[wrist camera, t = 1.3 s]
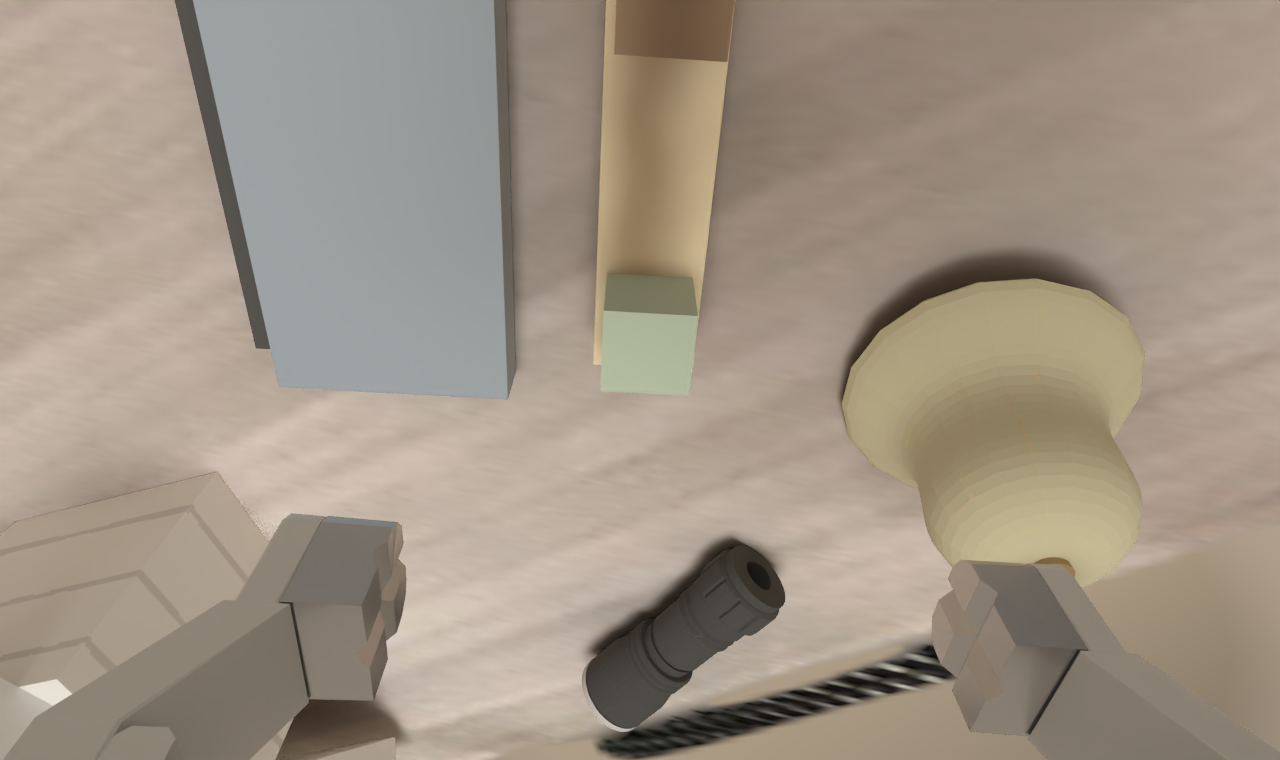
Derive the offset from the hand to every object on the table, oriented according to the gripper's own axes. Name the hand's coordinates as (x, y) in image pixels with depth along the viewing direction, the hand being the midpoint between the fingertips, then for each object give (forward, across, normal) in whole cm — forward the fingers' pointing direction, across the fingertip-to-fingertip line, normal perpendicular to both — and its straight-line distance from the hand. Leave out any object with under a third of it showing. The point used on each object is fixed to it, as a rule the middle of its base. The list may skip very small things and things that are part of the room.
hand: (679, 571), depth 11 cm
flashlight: (+29, -6, +32) cm, 44 cm away
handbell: (+28, -20, +12) cm, 37 cm away
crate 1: (+24, 0, -6) cm, 25 cm away
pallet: (+28, -1, +1) cm, 28 cm away
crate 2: (+24, -1, +8) cm, 26 cm away
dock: (+29, +12, +1) cm, 31 cm away
